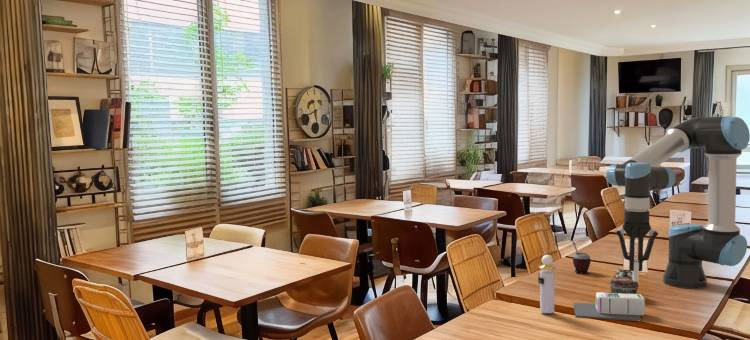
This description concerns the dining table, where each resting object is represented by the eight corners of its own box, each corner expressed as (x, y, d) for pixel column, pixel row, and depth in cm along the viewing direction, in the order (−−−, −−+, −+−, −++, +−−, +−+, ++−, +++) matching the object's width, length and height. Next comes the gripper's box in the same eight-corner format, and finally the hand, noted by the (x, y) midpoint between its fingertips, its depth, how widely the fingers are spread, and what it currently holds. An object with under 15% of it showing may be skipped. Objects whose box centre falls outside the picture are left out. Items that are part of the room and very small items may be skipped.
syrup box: (645, 298, 193) (597, 295, 196) (644, 316, 193) (597, 313, 196) (641, 293, 198) (595, 291, 202) (640, 311, 199) (595, 308, 202)
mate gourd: (593, 273, 250) (594, 237, 248) (581, 276, 245) (582, 240, 244) (578, 269, 256) (579, 235, 254) (567, 272, 251) (567, 237, 250)
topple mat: (634, 308, 203) (634, 306, 203) (641, 321, 190) (641, 319, 190) (573, 304, 209) (573, 302, 209) (575, 317, 195) (575, 315, 195)
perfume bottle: (552, 310, 203) (552, 252, 201) (558, 315, 197) (559, 256, 195) (535, 310, 202) (535, 253, 201) (541, 316, 196) (542, 257, 195)
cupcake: (605, 293, 220) (606, 267, 219) (632, 293, 220) (632, 267, 219) (615, 301, 211) (615, 274, 210) (642, 301, 210) (643, 273, 210)
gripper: (656, 208, 196) (654, 278, 198) (614, 207, 199) (613, 276, 201) (660, 212, 188) (659, 284, 190) (616, 211, 192) (615, 282, 194)
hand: (635, 280), depth 196 cm, fingers closed
